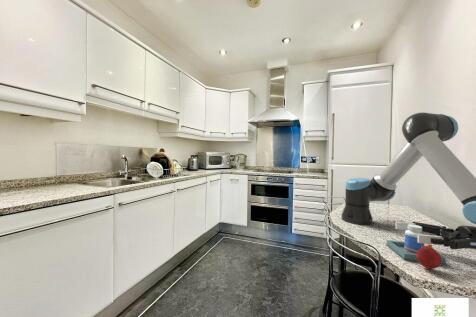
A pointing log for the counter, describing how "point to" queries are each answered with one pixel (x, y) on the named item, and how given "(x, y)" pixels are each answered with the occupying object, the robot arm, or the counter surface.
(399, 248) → the tray
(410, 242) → the pill bottle
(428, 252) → the onion
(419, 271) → the counter surface
